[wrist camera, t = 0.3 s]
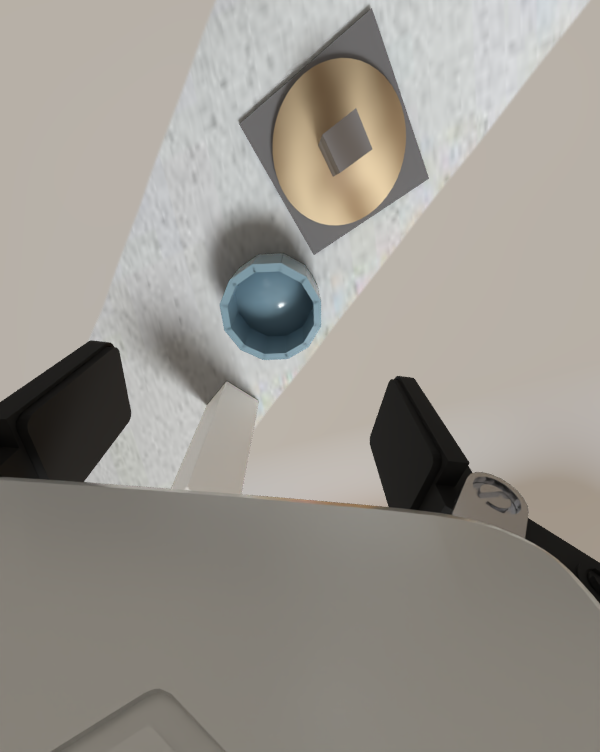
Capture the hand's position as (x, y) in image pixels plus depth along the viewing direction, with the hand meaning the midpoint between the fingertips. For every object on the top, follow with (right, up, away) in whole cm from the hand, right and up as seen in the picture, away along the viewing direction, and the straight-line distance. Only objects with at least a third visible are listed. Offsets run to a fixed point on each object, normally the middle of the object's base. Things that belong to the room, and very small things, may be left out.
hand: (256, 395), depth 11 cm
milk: (-9, -3, +36) cm, 37 cm away
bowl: (-2, +11, +27) cm, 29 cm away
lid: (+5, +23, +19) cm, 31 cm away
